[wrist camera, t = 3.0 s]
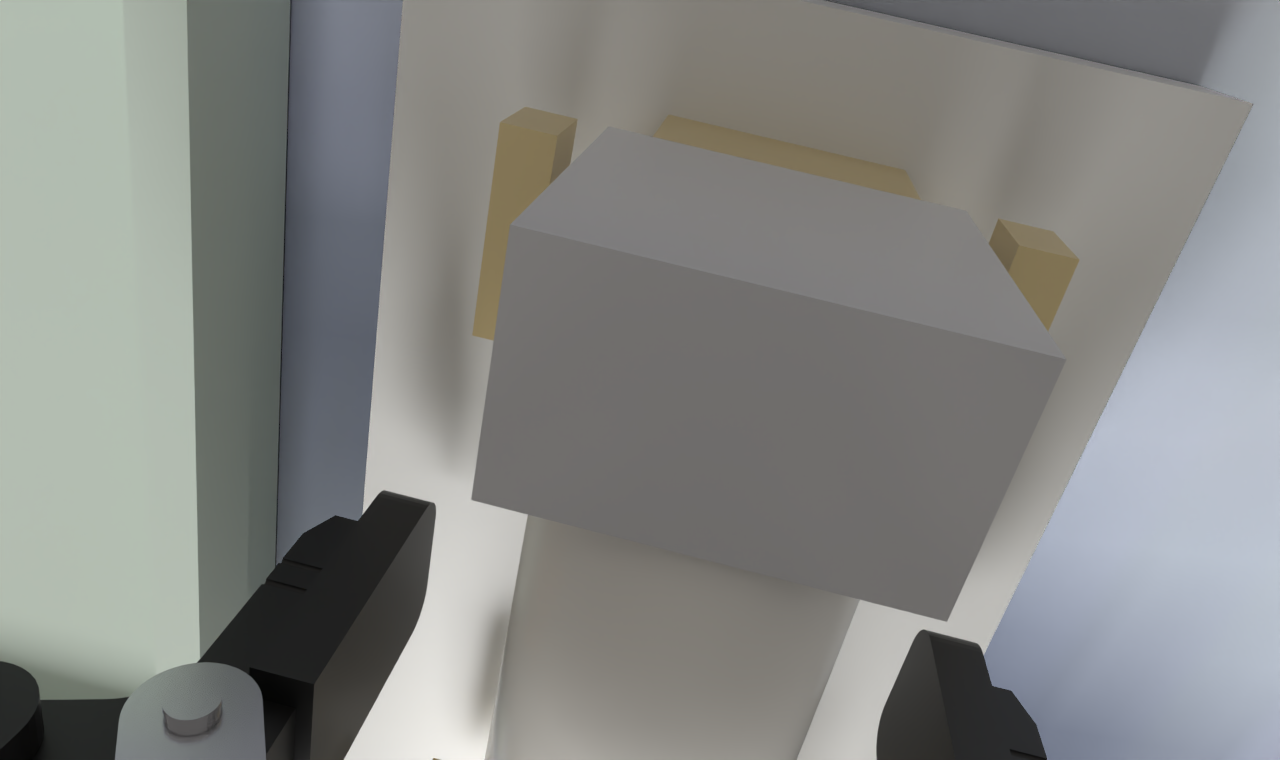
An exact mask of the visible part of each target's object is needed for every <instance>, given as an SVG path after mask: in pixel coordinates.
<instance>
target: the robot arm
mask: <svg viewBox="0 0 1280 760" xmlns="http://www.w3.org/2000/svg"><path fill="white" fill-rule="evenodd" d="M435 519H436V506H435V503H433V502H429V501H425V500H421V499H417V498H413V497H409V496H406V495H402V494H398V493H394V492H390V491H386V490H383V491H381V492H380V493H379V494H378V495H377V496H376V498H375V499H374V500H373V502H372V503H371V504H370V506H369V507H368V508H367V510H366V511H365V512H364V514H363V515H362V516H361V518H360V519H359V521H355V520H351V519H347V518H343V517H339V516H334V517H332V518H330V519H328V520H326V521H325V522H323V523H321V524H319V525H317V526H316V527H314V528H312V529H310V530H308V531H307V532H305V533H303V534H302V536H301V537H300V538H299V539H298V540H297V542H296V543H295V544H294V545H293V547H292V548H291V549H290V550H289V551H288V553H287V554H286V555H285V556H284V557H283V560H282V563H281V564H280V563H279V564H278V565H277V566H276V567H275V568H274V570H273V571H272V572H271V573H270V575H269V576H268V577H267V578H266V582H265V584H261V585H260V587H259V588H258V589H257V590H256V592H255V593H254V594H253V595H252V596H251V598H250V599H249V600H248V601H247V603H246V604H245V605H244V606H243V607H242V609H241V610H240V611H239V612H238V613H237V615H236V616H235V617H234V618H233V620H232V621H231V622H230V623H229V624H228V626H227V627H226V628H225V629H224V631H223V632H222V633H221V634H220V635H219V637H218V638H217V639H216V640H215V641H214V643H213V644H212V645H211V646H210V648H209V649H208V650H207V651H206V652H205V654H204V655H203V656H202V657H201V659H200V660H199V661H198V662H197V663H191V664H186V665H181V666H178V667H174V668H171V669H168V670H166V671H164V672H161V673H159V674H157V675H155V676H154V677H152V678H150V679H148V680H147V681H146V682H144V683H143V684H142V685H140V686H139V687H138V688H137V689H136V690H135V691H134V692H133V693H132V694H131V695H130V697H124V698H115V699H72V700H40V693H39V686H38V684H37V682H36V680H35V678H34V677H33V676H32V675H31V674H30V673H29V672H28V671H26V670H25V669H23V668H22V667H19V666H17V665H15V664H11V663H7V662H3V661H0V760H344V758H345V757H346V755H347V753H348V751H349V749H350V747H351V746H352V744H353V742H354V740H355V738H356V736H357V734H358V733H359V731H360V729H361V727H362V725H363V723H364V722H365V720H366V718H367V716H368V714H369V712H370V711H371V709H372V707H373V705H374V703H375V701H376V700H377V698H378V696H379V694H380V692H381V690H382V688H383V687H384V685H385V683H386V681H387V679H388V677H389V676H390V674H391V672H392V670H393V668H394V666H395V665H396V663H397V661H398V659H399V657H400V655H401V654H402V652H403V650H404V648H405V646H406V644H407V642H408V641H409V639H410V637H411V635H412V633H413V631H414V629H415V627H416V625H417V622H418V619H419V617H420V614H421V611H422V608H423V604H424V600H425V596H426V591H427V585H428V576H429V568H430V560H431V552H432V544H433V535H434V527H435ZM876 756H877V760H1047V757H1046V754H1045V751H1044V747H1043V744H1042V741H1041V738H1040V735H1039V732H1038V729H1037V726H1036V724H1035V722H1034V721H1033V720H1032V718H1031V717H1030V716H1029V714H1028V713H1027V712H1026V710H1025V709H1024V707H1023V706H1022V705H1021V703H1020V702H1019V701H1018V699H1017V698H1016V697H1015V695H1014V694H1013V693H1012V691H1009V690H1005V689H1002V688H998V687H994V686H992V684H991V681H990V677H989V674H988V670H987V666H986V663H985V659H984V656H983V652H982V649H981V647H980V646H979V645H978V644H977V643H975V642H971V641H967V640H963V639H959V638H956V637H952V636H948V635H944V634H940V633H936V632H932V631H928V630H924V629H923V630H921V631H919V632H918V634H917V635H916V636H915V638H914V640H913V642H912V645H911V647H910V649H909V651H908V654H907V656H906V658H905V660H904V663H903V665H902V667H901V670H900V672H899V674H898V676H897V679H896V681H895V683H894V685H893V688H892V690H891V692H890V694H889V697H888V699H887V701H886V704H885V706H884V708H883V711H882V714H881V718H880V722H879V727H878V733H877V742H876Z"/></svg>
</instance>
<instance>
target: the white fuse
mask: <svg viewBox="0 0 1280 760" xmlns="http://www.w3.org/2000/svg"><path fill="white" fill-rule="evenodd" d="M1066 360H1067V359H1066V358H1065V356H1064V355H1063V353H1062V352H1061V350H1060V349H1059V347H1058V346H1057V344H1056V343H1055V341H1054V340H1053V338H1052V337H1051V335H1050V334H1049V332H1048V331H1047V329H1046V328H1045V326H1044V325H1043V323H1042V322H1041V321H1040V319H1039V318H1038V316H1037V315H1036V313H1035V312H1034V310H1033V309H1032V307H1031V306H1030V304H1029V303H1028V301H1027V300H1026V298H1025V297H1024V295H1023V294H1022V292H1021V291H1020V289H1019V288H1018V286H1017V285H1016V283H1015V282H1014V281H1013V279H1012V278H1011V276H1010V275H1009V273H1008V272H1007V270H1006V269H1005V267H1004V266H1003V264H1002V263H1001V261H1000V260H999V258H998V257H997V255H996V254H995V252H994V251H993V249H992V248H991V246H990V245H989V243H988V242H987V241H986V239H985V238H984V236H983V235H982V233H981V232H980V230H979V229H978V227H977V226H976V224H975V223H974V221H973V220H972V218H971V217H970V215H969V214H968V212H967V211H965V210H961V209H956V208H952V207H948V206H944V205H939V204H935V203H931V202H927V201H922V200H918V199H914V198H910V197H906V196H901V195H897V194H893V193H889V192H884V191H880V190H876V189H872V188H867V187H863V186H859V185H855V184H851V183H846V182H842V181H838V180H834V179H829V178H825V177H821V176H817V175H812V174H808V173H804V172H800V171H796V170H791V169H787V168H783V167H779V166H774V165H770V164H766V163H762V162H757V161H753V160H749V159H745V158H741V157H736V156H732V155H728V154H724V153H719V152H715V151H711V150H707V149H702V148H698V147H694V146H690V145H686V144H681V143H677V142H673V141H669V140H664V139H660V138H656V137H652V136H647V135H643V134H639V133H635V132H631V131H626V130H622V129H618V128H614V127H609V126H608V127H607V128H606V129H605V130H604V131H603V132H602V133H601V134H600V135H599V136H598V137H597V138H596V139H595V140H594V141H593V142H592V143H591V144H590V145H589V146H588V147H587V148H586V149H585V150H584V151H583V152H582V153H581V154H580V155H579V156H578V157H577V158H576V159H575V160H574V161H573V162H572V163H571V164H570V165H569V166H568V167H567V168H566V169H565V170H564V171H563V172H562V173H561V174H560V175H559V176H558V177H557V178H556V179H555V180H554V181H553V182H552V183H551V184H550V185H549V186H548V187H547V188H546V189H545V190H544V191H543V192H542V193H541V194H540V195H539V196H538V197H537V198H536V199H535V200H534V201H533V202H532V203H531V204H530V205H529V206H528V207H527V208H526V209H525V210H524V211H523V212H522V213H521V214H520V215H519V216H518V217H517V218H516V219H515V220H514V221H513V222H512V223H511V224H510V229H509V236H508V243H507V250H506V257H505V264H504V271H503V278H502V285H501V292H500V299H499V306H498V313H497V321H496V328H495V335H494V342H493V349H492V356H491V363H490V370H489V377H488V384H487V391H486V398H485V405H484V412H483V419H482V426H481V433H480V440H479V447H478V454H477V462H476V469H475V476H474V483H473V490H472V497H471V500H473V501H477V502H481V503H485V504H489V505H492V506H496V507H500V508H504V509H508V510H512V511H516V512H520V513H524V514H528V517H527V523H526V528H525V534H524V540H523V545H522V551H521V557H520V562H519V568H518V574H517V579H516V585H515V591H514V596H513V602H512V607H511V613H510V619H509V624H508V630H507V636H506V641H505V647H504V653H503V658H502V664H501V670H500V675H499V681H498V687H497V692H496V698H495V704H494V709H493V715H492V720H491V726H490V732H489V737H488V743H487V749H486V754H485V760H797V758H798V755H799V753H800V750H801V748H802V745H803V743H804V740H805V738H806V735H807V733H808V730H809V728H810V725H811V722H812V720H813V717H814V715H815V712H816V710H817V707H818V705H819V702H820V700H821V697H822V695H823V692H824V690H825V687H826V684H827V682H828V679H829V677H830V674H831V672H832V669H833V667H834V664H835V662H836V659H837V657H838V654H839V652H840V649H841V647H842V644H843V641H844V639H845V636H846V634H847V631H848V629H849V626H850V624H851V621H852V619H853V616H854V614H855V611H856V609H857V606H858V603H859V601H860V600H863V601H867V602H871V603H875V604H879V605H883V606H887V607H891V608H895V609H899V610H902V611H906V612H910V613H914V614H918V615H922V616H926V617H930V618H934V619H938V620H941V621H945V622H947V621H948V619H949V616H950V614H951V612H952V610H953V608H954V605H955V603H956V601H957V599H958V597H959V595H960V592H961V590H962V588H963V586H964V584H965V581H966V579H967V577H968V575H969V573H970V570H971V568H972V566H973V564H974V562H975V559H976V557H977V555H978V553H979V551H980V548H981V546H982V544H983V542H984V540H985V537H986V535H987V533H988V531H989V529H990V527H991V524H992V522H993V520H994V518H995V516H996V513H997V511H998V509H999V507H1000V505H1001V502H1002V500H1003V498H1004V496H1005V494H1006V491H1007V489H1008V487H1009V485H1010V483H1011V480H1012V478H1013V476H1014V474H1015V472H1016V470H1017V467H1018V465H1019V463H1020V461H1021V459H1022V456H1023V454H1024V452H1025V450H1026V448H1027V445H1028V443H1029V441H1030V439H1031V437H1032V434H1033V432H1034V430H1035V428H1036V426H1037V423H1038V421H1039V419H1040V417H1041V415H1042V412H1043V410H1044V408H1045V406H1046V404H1047V402H1048V399H1049V397H1050V395H1051V393H1052V391H1053V388H1054V386H1055V384H1056V382H1057V380H1058V377H1059V375H1060V373H1061V371H1062V369H1063V366H1064V364H1065V362H1066Z"/></svg>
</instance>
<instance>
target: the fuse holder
mask: <svg viewBox="0 0 1280 760" xmlns="http://www.w3.org/2000/svg"><path fill="white" fill-rule="evenodd" d="M1252 106H1253V104H1252V103H1249V102H1246V101H1243V100H1241V99H1238V98H1235V97H1232V96H1229V95H1226V94H1223V93H1220V92H1217V91H1214V90H1211V89H1208V88H1205V87H1202V86H1198V85H1194V84H1190V83H1185V82H1181V81H1176V80H1172V79H1168V78H1163V77H1159V76H1154V75H1150V74H1146V73H1141V72H1137V71H1132V70H1128V69H1124V68H1119V67H1115V66H1111V65H1106V64H1102V63H1097V62H1093V61H1089V60H1084V59H1080V58H1075V57H1071V56H1067V55H1062V54H1058V53H1053V52H1049V51H1045V50H1040V49H1036V48H1032V47H1027V46H1023V45H1018V44H1014V43H1010V42H1005V41H1001V40H996V39H992V38H988V37H983V36H979V35H974V34H970V33H966V32H961V31H957V30H953V29H948V28H944V27H939V26H935V25H931V24H926V23H922V22H917V21H913V20H909V19H904V18H900V17H895V16H891V15H887V14H882V13H878V12H874V11H869V10H865V9H860V8H856V7H852V6H847V5H843V4H838V3H834V2H830V1H825V0H403V6H402V19H401V32H400V44H399V57H398V70H397V83H396V95H395V108H394V121H393V134H392V146H391V159H390V172H389V185H388V197H387V210H386V223H385V236H384V248H383V261H382V274H381V287H380V299H379V312H378V325H377V338H376V350H375V363H374V376H373V389H372V401H371V414H370V427H369V440H368V452H367V465H366V478H365V491H364V503H363V514H364V512H365V511H366V510H367V508H368V507H369V506H370V504H371V503H372V502H373V500H374V499H375V498H376V496H377V495H378V494H379V493H380V492H381V491H383V490H386V491H390V492H394V493H398V494H402V495H406V496H409V497H413V498H417V499H421V500H425V501H429V502H433V503H435V506H436V519H435V527H434V535H433V544H432V552H431V560H430V568H429V576H428V585H427V591H426V596H425V600H424V604H423V608H422V611H421V614H420V617H419V619H418V622H417V625H416V627H415V629H414V631H413V633H412V635H411V637H410V639H409V641H408V642H407V644H406V646H405V648H404V650H403V652H402V654H401V655H400V657H399V659H398V661H397V663H396V665H395V666H394V668H393V670H392V672H391V674H390V676H389V677H388V679H387V681H386V683H385V685H384V687H383V688H382V690H381V692H380V694H379V696H378V698H377V700H376V701H375V703H374V705H373V707H372V709H371V711H370V712H369V714H368V716H367V718H366V720H365V722H364V723H363V725H362V727H361V729H360V731H359V733H358V734H357V736H356V738H355V740H354V742H353V744H352V746H351V747H350V749H349V751H348V753H347V755H346V757H345V758H344V760H485V754H486V749H487V743H488V737H489V732H490V726H491V720H492V715H493V709H494V704H495V698H496V692H497V687H498V681H499V675H500V670H501V664H502V658H503V653H504V647H505V641H506V636H507V630H508V624H509V619H510V613H511V607H512V602H513V596H514V591H515V585H516V579H517V574H518V568H519V562H520V557H521V551H522V545H523V540H524V534H525V528H526V523H527V517H528V514H524V513H520V512H516V511H512V510H508V509H504V508H500V507H496V506H492V505H489V504H485V503H481V502H477V501H473V500H471V497H472V490H473V483H474V476H475V469H476V462H477V454H478V447H479V440H480V433H481V426H482V419H483V412H484V405H485V398H486V391H487V384H488V377H489V370H490V363H491V356H492V349H493V342H494V335H495V328H496V321H497V313H498V306H499V299H500V292H501V285H502V278H503V271H504V264H505V257H506V250H507V243H508V236H509V229H510V224H511V223H512V222H513V221H514V220H515V219H516V218H517V217H518V216H519V215H520V214H521V213H522V212H523V211H524V210H525V209H526V208H527V207H528V206H529V205H530V204H531V203H532V202H533V201H534V200H535V199H536V198H537V197H538V196H539V195H540V194H541V193H542V192H543V191H544V190H545V189H546V188H547V187H548V186H549V185H550V184H551V183H552V182H553V181H554V180H555V179H556V178H557V177H558V176H559V175H560V174H561V173H562V172H563V171H564V170H565V169H566V168H567V167H568V166H569V165H570V164H571V163H572V162H573V161H574V160H575V159H576V158H577V157H578V156H579V155H580V154H581V153H582V152H583V151H584V150H585V149H586V148H587V147H588V146H589V145H590V144H591V143H592V142H593V141H594V140H595V139H596V138H597V137H598V136H599V135H600V134H601V133H602V132H603V131H604V130H605V129H606V128H607V127H608V126H609V127H614V128H618V129H622V130H626V131H631V132H635V133H639V134H643V135H647V136H652V137H656V138H660V139H664V140H669V141H673V142H677V143H681V144H686V145H690V146H694V147H698V148H702V149H707V150H711V151H715V152H719V153H724V154H728V155H732V156H736V157H741V158H745V159H749V160H753V161H757V162H762V163H766V164H770V165H774V166H779V167H783V168H787V169H791V170H796V171H800V172H804V173H808V174H812V175H817V176H821V177H825V178H829V179H834V180H838V181H842V182H846V183H851V184H855V185H859V186H863V187H867V188H872V189H876V190H880V191H884V192H889V193H893V194H897V195H901V196H906V197H910V198H914V199H918V200H922V201H927V202H931V203H935V204H939V205H944V206H948V207H952V208H956V209H961V210H965V211H967V212H968V214H969V215H970V217H971V218H972V220H973V221H974V223H975V224H976V226H977V227H978V229H979V230H980V232H981V233H982V235H983V236H984V238H985V239H986V241H987V242H988V243H989V245H990V246H991V248H992V249H993V251H994V252H995V254H996V255H997V257H998V258H999V260H1000V261H1001V263H1002V264H1003V266H1004V267H1005V269H1006V270H1007V272H1008V273H1009V275H1010V276H1011V278H1012V279H1013V281H1014V282H1015V283H1016V285H1017V286H1018V288H1019V289H1020V291H1021V292H1022V294H1023V295H1024V297H1025V298H1026V300H1027V301H1028V303H1029V304H1030V306H1031V307H1032V309H1033V310H1034V312H1035V313H1036V315H1037V316H1038V318H1039V319H1040V321H1041V322H1042V323H1043V325H1044V326H1045V328H1046V329H1047V331H1048V332H1049V334H1050V335H1051V337H1052V338H1053V340H1054V341H1055V343H1056V344H1057V346H1058V347H1059V349H1060V350H1061V352H1062V353H1063V355H1064V356H1065V358H1066V359H1067V360H1066V362H1065V364H1064V366H1063V369H1062V371H1061V373H1060V375H1059V377H1058V380H1057V382H1056V384H1055V386H1054V388H1053V391H1052V393H1051V395H1050V397H1049V399H1048V402H1047V404H1046V406H1045V408H1044V410H1043V412H1042V415H1041V417H1040V419H1039V421H1038V423H1037V426H1036V428H1035V430H1034V432H1033V434H1032V437H1031V439H1030V441H1029V443H1028V445H1027V448H1026V450H1025V452H1024V454H1023V456H1022V459H1021V461H1020V463H1019V465H1018V467H1017V470H1016V472H1015V474H1014V476H1013V478H1012V480H1011V483H1010V485H1009V487H1008V489H1007V491H1006V494H1005V496H1004V498H1003V500H1002V502H1001V505H1000V507H999V509H998V511H997V513H996V516H995V518H994V520H993V522H992V524H991V527H990V529H989V531H988V533H987V535H986V537H985V540H984V542H983V544H982V546H981V548H980V551H979V553H978V555H977V557H976V559H975V562H974V564H973V566H972V568H971V570H970V573H969V575H968V577H967V579H966V581H965V584H964V586H963V588H962V590H961V592H960V595H959V597H958V599H957V601H956V603H955V605H954V608H953V610H952V612H951V614H950V616H949V619H948V621H947V622H945V621H941V620H938V619H934V618H930V617H926V616H922V615H918V614H914V613H910V612H906V611H902V610H899V609H895V608H891V607H887V606H883V605H879V604H875V603H871V602H867V601H863V600H860V601H859V603H858V606H857V609H856V611H855V614H854V616H853V619H852V621H851V624H850V626H849V629H848V631H847V634H846V636H845V639H844V641H843V644H842V647H841V649H840V652H839V654H838V657H837V659H836V662H835V664H834V667H833V669H832V672H831V674H830V677H829V679H828V682H827V684H826V687H825V690H824V692H823V695H822V697H821V700H820V702H819V705H818V707H817V710H816V712H815V715H814V717H813V720H812V722H811V725H810V728H809V730H808V733H807V735H806V738H805V740H804V743H803V745H802V748H801V750H800V753H799V755H798V758H797V760H877V756H876V742H877V733H878V727H879V722H880V718H881V714H882V711H883V708H884V706H885V704H886V701H887V699H888V697H889V694H890V692H891V690H892V688H893V685H894V683H895V681H896V679H897V676H898V674H899V672H900V670H901V667H902V665H903V663H904V660H905V658H906V656H907V654H908V651H909V649H910V647H911V645H912V642H913V640H914V638H915V636H916V635H917V634H918V632H919V631H921V630H923V629H924V630H928V631H932V632H936V633H940V634H944V635H948V636H952V637H956V638H959V639H963V640H967V641H971V642H975V643H977V644H978V645H979V646H980V647H981V649H982V652H983V655H984V653H985V651H986V649H987V647H988V645H989V643H990V641H991V639H992V637H993V635H994V633H995V631H996V629H997V627H998V625H999V623H1000V621H1001V619H1002V617H1003V614H1004V612H1005V610H1006V608H1007V606H1008V604H1009V602H1010V600H1011V598H1012V596H1013V594H1014V592H1015V590H1016V588H1017V586H1018V584H1019V582H1020V580H1021V578H1022V576H1023V574H1024V572H1025V570H1026V567H1027V565H1028V563H1029V561H1030V559H1031V557H1032V555H1033V553H1034V551H1035V549H1036V547H1037V545H1038V543H1039V541H1040V539H1041V537H1042V535H1043V533H1044V531H1045V529H1046V527H1047V525H1048V523H1049V521H1050V518H1051V516H1052V514H1053V512H1054V510H1055V508H1056V506H1057V504H1058V502H1059V500H1060V498H1061V496H1062V494H1063V492H1064V490H1065V488H1066V486H1067V484H1068V482H1069V480H1070V478H1071V476H1072V474H1073V472H1074V469H1075V467H1076V465H1077V463H1078V461H1079V459H1080V457H1081V455H1082V453H1083V451H1084V449H1085V447H1086V445H1087V443H1088V441H1089V439H1090V437H1091V435H1092V433H1093V431H1094V429H1095V427H1096V425H1097V422H1098V420H1099V418H1100V416H1101V414H1102V412H1103V410H1104V408H1105V406H1106V404H1107V402H1108V400H1109V398H1110V396H1111V394H1112V392H1113V390H1114V388H1115V386H1116V384H1117V382H1118V380H1119V378H1120V376H1121V373H1122V371H1123V369H1124V367H1125V365H1126V363H1127V361H1128V359H1129V357H1130V355H1131V353H1132V351H1133V349H1134V347H1135V345H1136V343H1137V341H1138V339H1139V337H1140V335H1141V333H1142V331H1143V329H1144V327H1145V324H1146V322H1147V320H1148V318H1149V316H1150V314H1151V312H1152V310H1153V308H1154V306H1155V304H1156V302H1157V300H1158V298H1159V296H1160V294H1161V292H1162V290H1163V288H1164V286H1165V284H1166V282H1167V280H1168V277H1169V275H1170V273H1171V271H1172V269H1173V267H1174V265H1175V263H1176V261H1177V259H1178V257H1179V255H1180V253H1181V251H1182V249H1183V247H1184V245H1185V243H1186V241H1187V239H1188V237H1189V235H1190V233H1191V231H1192V228H1193V226H1194V224H1195V222H1196V220H1197V218H1198V216H1199V214H1200V212H1201V210H1202V208H1203V206H1204V204H1205V202H1206V200H1207V198H1208V196H1209V194H1210V192H1211V190H1212V188H1213V186H1214V184H1215V182H1216V179H1217V177H1218V175H1219V173H1220V171H1221V169H1222V167H1223V165H1224V163H1225V161H1226V159H1227V157H1228V155H1229V153H1230V151H1231V149H1232V147H1233V145H1234V143H1235V141H1236V139H1237V137H1238V135H1239V132H1240V130H1241V128H1242V126H1243V124H1244V122H1245V120H1246V118H1247V116H1248V114H1249V112H1250V110H1251V108H1252Z"/></svg>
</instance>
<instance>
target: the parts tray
mask: <svg viewBox="0 0 1280 760" xmlns="http://www.w3.org/2000/svg"><path fill="white" fill-rule="evenodd" d="M289 35H290V0H0V661H3V662H7V663H11V664H15V665H17V666H19V667H22V668H23V669H25V670H26V671H28V672H29V673H30V674H31V675H32V676H33V677H34V678H35V680H36V682H37V684H38V686H39V693H40V700H72V699H115V698H124V697H130V695H131V694H132V693H133V692H134V691H135V690H136V689H137V688H138V687H139V686H140V685H142V684H143V683H144V682H146V681H147V680H148V679H150V678H152V677H154V676H155V675H157V674H159V673H161V672H164V671H166V670H168V669H171V668H174V667H178V666H181V665H186V664H191V663H197V662H198V661H199V660H200V659H201V657H202V656H203V655H204V654H205V652H206V651H207V650H208V649H209V648H210V646H211V645H212V644H213V643H214V641H215V640H216V639H217V638H218V637H219V635H220V634H221V633H222V632H223V631H224V629H225V628H226V627H227V626H228V624H229V623H230V622H231V621H232V620H233V618H234V617H235V616H236V615H237V613H238V612H239V611H240V610H241V609H242V607H243V606H244V605H245V604H246V603H247V601H248V600H249V599H250V598H251V596H252V595H253V594H254V593H255V592H256V590H257V589H258V588H259V587H260V585H261V584H265V582H266V578H267V577H268V576H269V575H270V573H271V572H272V571H273V570H274V568H275V552H276V515H277V478H278V441H279V404H280V367H281V331H282V294H283V257H284V220H285V183H286V146H287V109H288V72H289Z"/></svg>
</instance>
